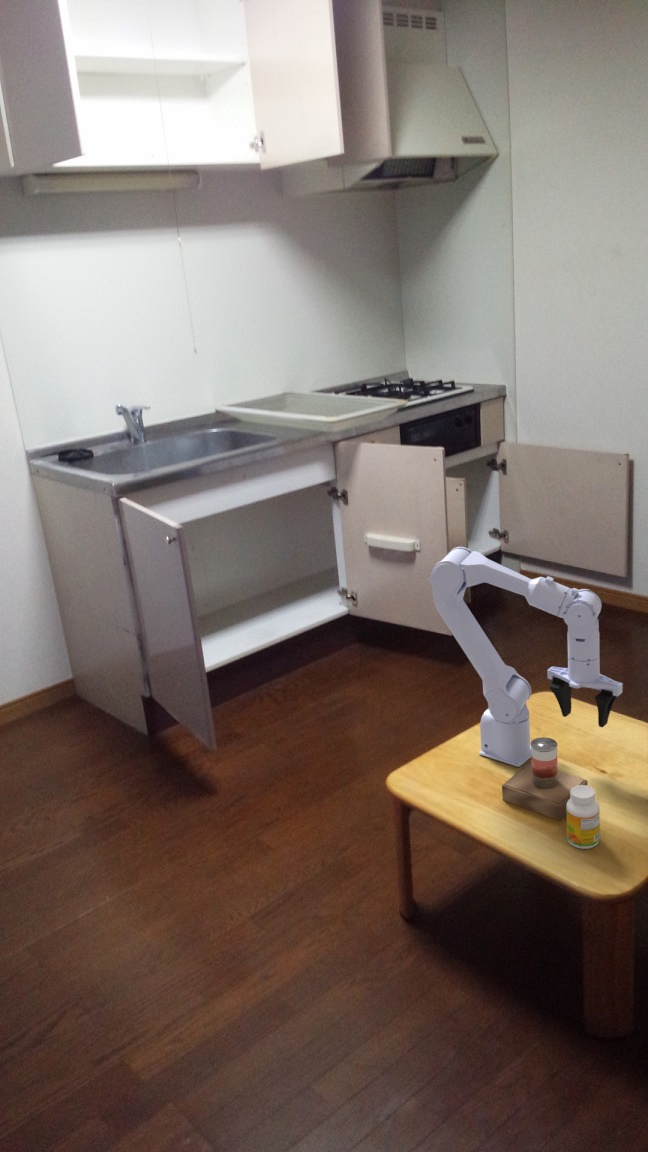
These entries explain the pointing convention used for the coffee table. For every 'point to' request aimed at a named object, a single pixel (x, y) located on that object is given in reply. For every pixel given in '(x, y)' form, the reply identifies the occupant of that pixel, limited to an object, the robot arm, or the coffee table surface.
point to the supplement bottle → (583, 818)
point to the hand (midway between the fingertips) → (584, 719)
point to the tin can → (544, 762)
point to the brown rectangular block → (540, 792)
